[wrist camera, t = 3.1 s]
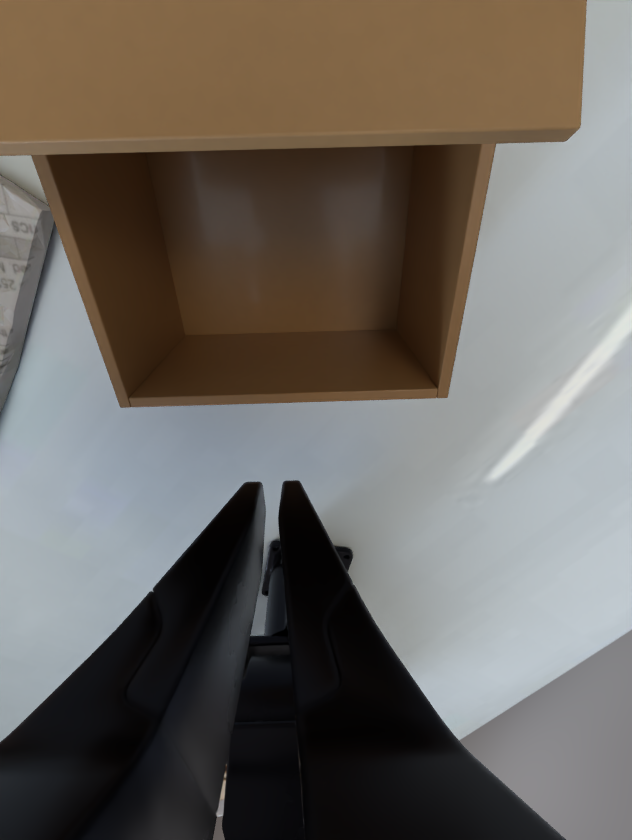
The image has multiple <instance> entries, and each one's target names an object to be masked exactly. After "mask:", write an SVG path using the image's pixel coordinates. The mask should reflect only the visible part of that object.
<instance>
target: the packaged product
mask: <svg viewBox="0 0 632 840" xmlns="http://www.w3.org/2000/svg"><path fill="white" fill-rule="evenodd" d="M53 224H54V218H53V215H52V213H51V210H50V207H49V206H47V205H46V204H44V203H43V202H41V201H40V200H38V199H37V198H35V197H34V196H32V195H30V194H29V193H27V192H26V191H24V190H23V189H21V188H20V187H18V186H17V185H15V184H14V183H12V182H10V181H9V180H7V179H6V178H4V177H3V176H1V175H0V413H1V411H2V408H3V405H4V403H5V400H6V397H7V395H8V392H9V389H10V387H11V384H12V381H13V379H14V376H15V373H16V371H17V368H18V365H19V362H20V357H21V353H22V348H23V344H24V340H25V335H26V331H27V326H28V323H29V319H30V315H31V311H32V307H33V303H34V299H35V295H36V291H37V287H38V283H39V279H40V275H41V271H42V267H43V264H44V260H45V256H46V252H47V248H48V244H49V240H50V236H51V232H52V228H53Z"/></svg>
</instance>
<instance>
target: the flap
mask: <svg viewBox="0 0 632 840" xmlns="http://www.w3.org/2000/svg"><path fill="white" fill-rule="evenodd" d="M586 5H587V0H0V156H16V155H56V154H95V153H135V152H175V151H214V150H254V149H294V148H333V147H373V146H413V145H452V144H492V143H531V142H564V141H567V140H568V139H569V138H570V137H571V136H572V135H573V134H574V133H575V132H576V131H577V130H578V129H579V128H580V126H581V107H582V87H583V66H584V46H585V26H586Z"/></svg>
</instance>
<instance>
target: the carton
mask: <svg viewBox="0 0 632 840" xmlns="http://www.w3.org/2000/svg"><path fill="white" fill-rule="evenodd" d="M495 147H496V143H492V144H452V145H413V146H373V147H333V148H294V149H254V150H214V151H175V152H135V153H95V154H56V155H31V156H32V159H33V162H34V165H35V167H36V170H37V173H38V176H39V179H40V182H41V184H42V187H43V190H44V193H45V196H46V198H47V201H48V204H49V207H50V210H51V213H52V215H53V218H54V221H55V224H56V227H57V230H58V232H59V235H60V238H61V241H62V244H63V247H64V249H65V252H66V255H67V258H68V261H69V264H70V266H71V269H72V272H73V275H74V278H75V281H76V283H77V286H78V289H79V292H80V295H81V297H82V300H83V303H84V306H85V309H86V312H87V314H88V317H89V320H90V323H91V326H92V329H93V331H94V334H95V337H96V340H97V343H98V346H99V348H100V351H101V354H102V357H103V360H104V363H105V365H106V368H107V371H108V374H109V377H110V380H111V382H112V385H113V388H114V391H115V394H116V396H117V399H118V402H119V405H120V407H121V408H125V407H159V406H192V405H225V404H258V403H292V402H325V401H358V400H391V399H424V398H436V397H437V398H447V397H448V392H449V387H450V382H451V377H452V371H453V366H454V361H455V356H456V350H457V345H458V340H459V335H460V329H461V324H462V319H463V314H464V309H465V303H466V298H467V293H468V288H469V282H470V277H471V272H472V267H473V262H474V256H475V251H476V246H477V241H478V235H479V230H480V225H481V220H482V215H483V209H484V204H485V199H486V194H487V188H488V183H489V178H490V173H491V168H492V162H493V157H494V152H495Z"/></svg>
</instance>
